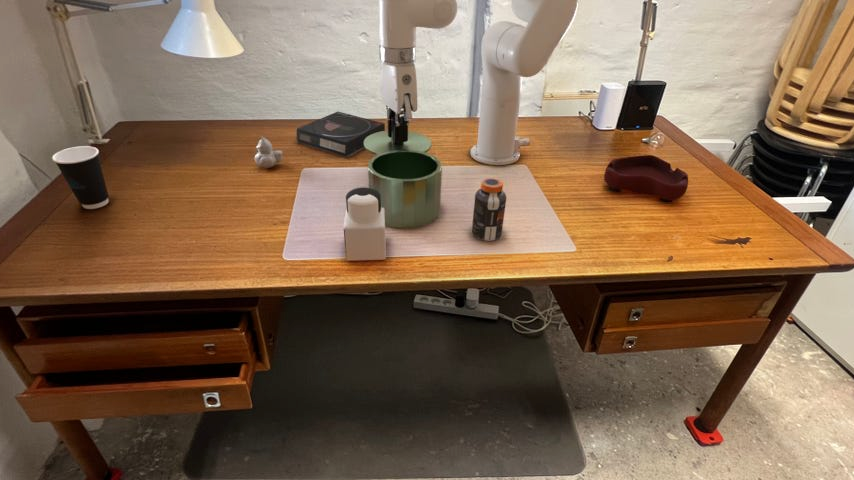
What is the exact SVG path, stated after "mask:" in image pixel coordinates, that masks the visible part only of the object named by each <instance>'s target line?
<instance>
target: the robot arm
mask: <svg viewBox="0 0 854 480" xmlns="http://www.w3.org/2000/svg"><path fill="white" fill-rule="evenodd" d="M578 6H579V0H511V10H512V13H513V14H514V16H515V17H516V18H517V19H518V20H521V21H523V22H525V23H527V24H526V25H525V26H524V25H522V24H519V23H515V22H512V21H508V20H507V21H506V20H501V21H497V22H494V23H493V24H491V25H490V26H489V27H488V28H487V29H486V30H485V32H484V34H483V36H482V39H481V45H480V54H481V65H482V66H481V68H482V80H481V81H482V82H481V93H480V94H481V95H480V107H479V117H478V130H477V132H478V133H477V144H475V145H473V146H472V147H471V149H470V157H471V158H473V159H474V160H475V161H476V162H479V163H481V164H485V165H490V166H506V165H511V164H513V163H516V162H517V161H518V160H519V158H520V151H519V150H518V149H520V148H521V147H527V146H530V145H531V139H530V138H529V137H525V138H521V136H517V130H518V129H517V128H518V123H519V122H518V120H519V113H520V106H521V98H522V89H523V78H531V77H534V76H536V75H537V74H538V73H540V72H541V71H542V70H543V69H544V68H545V66H546V65H547V64H548V62H549V61H550V60H551V58H552V56H553V55H554V53H555V51H556V50H557V48H558V47H559V46H560V43H561V42H562V40H563V39H564V37H565V36H566V34H567V32H568V31H569V29H570V27H571V25H573V24H572V23H573V22H574V19H575V17H576V14H577V12H578ZM377 7H378V15H377V16H378V49H379V51H378V52H379V53H378V54H379V63H380V64H381V69H380V71H381V73H380V96H381V101H382V103H383V104H384V105H385V107H386V119H387V131H388V137H390V138H391V137H392V134H391V118H393V117H395V123H396V125H394V142H395V143H401V142H407V141H408V131H409V125H410V121H412V120H413V113H415V112H417V111H418V81H417V79H418V78H417V72H416V51H417V50H416V47H417V46H416V45H417V44H416V43H417V40H416V39H417V28H425V29H434V30H435V29H436V30H439V29H444V28H446V27H448V26H450V25H451V24H452V23H453V22H454V20H455V19H456V17H457V14H458V2H457V0H377ZM412 112H413V113H412ZM399 117H400V118H399Z"/></svg>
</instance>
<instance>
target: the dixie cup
mask: <svg viewBox="0 0 854 480" xmlns="http://www.w3.org/2000/svg"><path fill="white" fill-rule="evenodd" d="M99 153H100V151H99V149H98V148H97V147H94V146H90V145H89V146H88V145H84V146H83V145H81V146H80V145H79V146H72V147H69V148H64V149H62V150H59V151H57V152H56V153H54V154H53V155H52V157H51V160H52V161H53V162H54V163H55V164H56V165H57V168H58V169H59V170H60V172H61V174H62V176H63V177H64V179H65V181H66V182H67V185H68V186H69V188H70V190H71V191H72V193H73V194H74V196H75V198H76V200H77V201H78V203H79V204H81V207H83V208H84V209H87V210H93V209H99V208H102V207H104V206H107V204H108V203H109V202H110V201H109V192H108V188H107V183H106V180H105V176H104V172H103V168H102V164H101V160H100V156H99Z"/></svg>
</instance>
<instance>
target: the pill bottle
mask: <svg viewBox="0 0 854 480" xmlns="http://www.w3.org/2000/svg"><path fill="white" fill-rule="evenodd" d="M480 184H481V185H480V188H479V189H478V190H477V191H476V192H475V195H474V205H473V214H472V225H471V226H472V227H471V233H472V235H473V237H475V238H476V239H478V240H481V241H486V242H491V241H496V240H498V239H501V237H502V235H503V228H504V227H503V226H504V219H505V212H506V205H507V195H506V192H505V191H504V189H503V188H504V183H503V181H502V180H500V179H498V178H496V177H486V178H484V179H482V180H481V183H480Z"/></svg>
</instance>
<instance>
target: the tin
mask: <svg viewBox="0 0 854 480" xmlns="http://www.w3.org/2000/svg"><path fill="white" fill-rule="evenodd" d="M367 170H368V171H367V172H368V173H367V175H368V188H372V189H375V190H377V191H378V192H379V193H380V195H381V208H384V210H385V227H389V228H395V229H402V230H404V229H405V230H407V229H408V230H409V229H417V228H421V227H425V226H427V225H429V224H432V223H433V222H434V221H436V220H437V219H438V218H439V216H440V212H441V200H442V199H441V198H442V175H443V173H442V172H443V164H442V163H441V160H440V159H439V158H437V157H436V156H435V155H432V154H430V153H429V152H426V153H424V152H420V151H413V150H395V151H389V152H384V153H381V154H378V155H375V156H373V157H372V158H370V159H369V161H368V163H367Z"/></svg>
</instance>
